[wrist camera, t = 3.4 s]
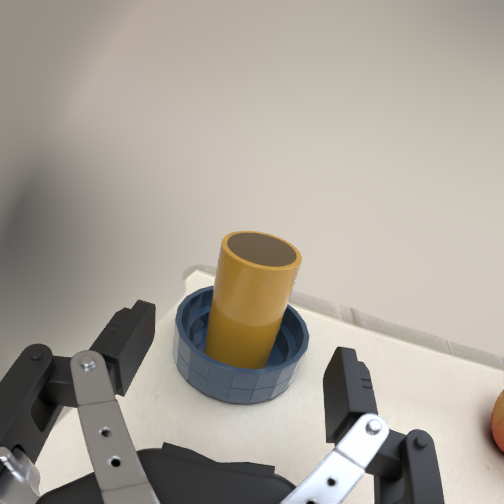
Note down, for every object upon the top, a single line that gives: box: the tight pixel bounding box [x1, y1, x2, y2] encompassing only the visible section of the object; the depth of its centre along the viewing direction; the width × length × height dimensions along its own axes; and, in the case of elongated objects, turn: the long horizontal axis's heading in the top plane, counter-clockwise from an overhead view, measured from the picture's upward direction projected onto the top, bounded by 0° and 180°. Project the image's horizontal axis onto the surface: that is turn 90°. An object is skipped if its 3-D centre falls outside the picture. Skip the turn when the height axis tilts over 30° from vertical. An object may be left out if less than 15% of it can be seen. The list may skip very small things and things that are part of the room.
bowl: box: [173, 286, 309, 404], centre depth 28 cm, size 11×11×4 cm
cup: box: [204, 231, 302, 369], centre depth 26 cm, size 6×6×11 cm
